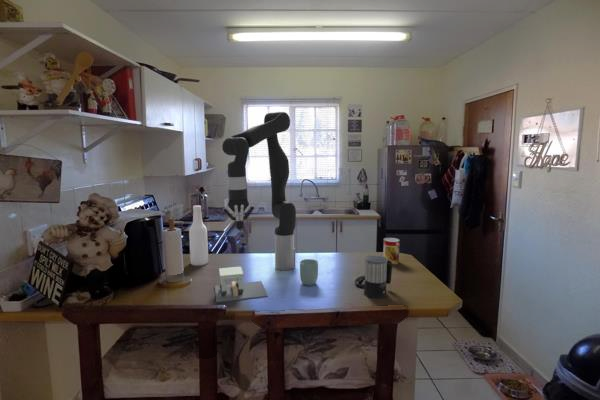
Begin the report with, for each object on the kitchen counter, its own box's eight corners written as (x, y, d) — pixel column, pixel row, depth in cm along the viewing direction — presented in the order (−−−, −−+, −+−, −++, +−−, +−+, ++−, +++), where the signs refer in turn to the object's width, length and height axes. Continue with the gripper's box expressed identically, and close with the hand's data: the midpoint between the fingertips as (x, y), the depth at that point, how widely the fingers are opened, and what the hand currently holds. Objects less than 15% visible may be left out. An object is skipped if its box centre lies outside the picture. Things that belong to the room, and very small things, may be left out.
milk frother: (381, 300, 135) (383, 264, 133) (345, 291, 144) (345, 256, 142) (393, 288, 147) (395, 254, 145) (359, 280, 155) (360, 248, 153)
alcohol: (195, 260, 184) (192, 204, 180) (210, 261, 183) (208, 204, 178) (187, 265, 175) (184, 207, 171) (204, 266, 174) (201, 207, 170)
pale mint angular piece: (240, 266, 147) (219, 268, 144) (243, 273, 138) (220, 275, 136) (241, 286, 148) (219, 288, 146) (243, 294, 139) (220, 297, 137)
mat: (261, 282, 154) (261, 276, 153) (267, 296, 139) (267, 290, 138) (214, 286, 148) (214, 280, 148) (216, 302, 133) (216, 295, 133)
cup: (319, 281, 154) (320, 260, 153) (314, 288, 147) (315, 265, 145) (303, 279, 157) (303, 258, 155) (297, 286, 149) (297, 263, 148)
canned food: (400, 264, 178) (401, 241, 176) (384, 264, 178) (385, 241, 176) (396, 259, 185) (397, 237, 184) (381, 259, 186) (382, 237, 184)
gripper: (252, 185, 146) (254, 226, 148) (220, 187, 142) (222, 228, 145) (255, 187, 138) (257, 230, 141) (221, 189, 135) (224, 233, 138)
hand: (239, 229), depth 143 cm, fingers closed
